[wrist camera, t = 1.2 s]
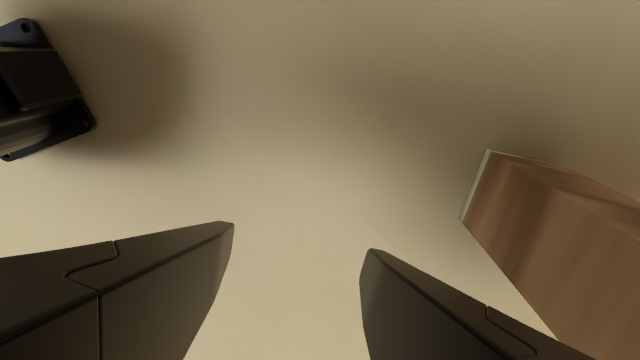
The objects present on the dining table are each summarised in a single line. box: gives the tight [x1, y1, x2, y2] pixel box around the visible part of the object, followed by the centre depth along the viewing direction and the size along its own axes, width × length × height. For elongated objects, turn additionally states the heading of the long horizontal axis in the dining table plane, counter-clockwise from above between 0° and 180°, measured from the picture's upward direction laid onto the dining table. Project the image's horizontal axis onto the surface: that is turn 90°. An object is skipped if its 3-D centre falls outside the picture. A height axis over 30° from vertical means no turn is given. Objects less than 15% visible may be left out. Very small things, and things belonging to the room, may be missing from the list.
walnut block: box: [459, 149, 640, 360], centre depth 16 cm, size 5×5×14 cm
